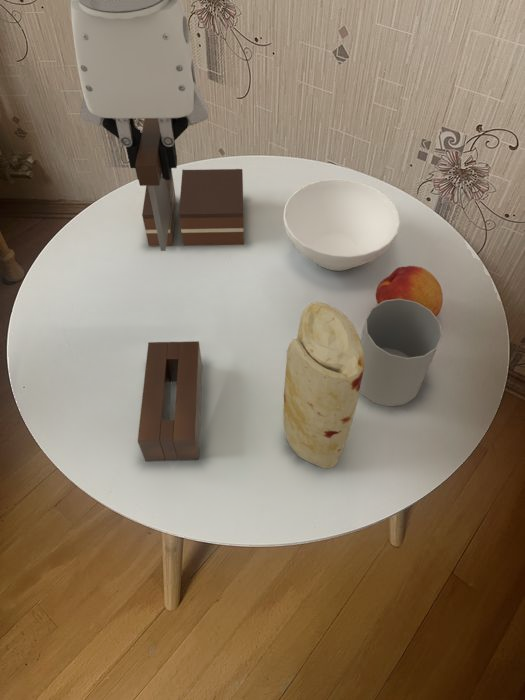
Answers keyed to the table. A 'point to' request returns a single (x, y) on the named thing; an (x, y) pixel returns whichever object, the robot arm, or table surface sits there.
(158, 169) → the knife
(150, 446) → the knife block
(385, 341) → the cup
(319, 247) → the bowl
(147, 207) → the cake slice
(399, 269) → the fruit
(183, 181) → the cake
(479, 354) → the table surface
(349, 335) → the food model
